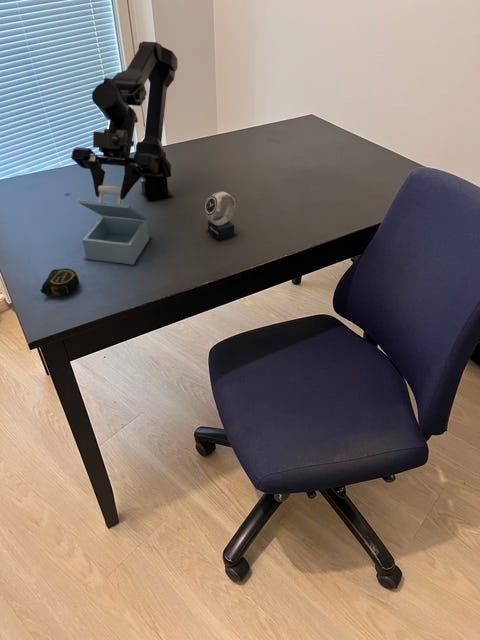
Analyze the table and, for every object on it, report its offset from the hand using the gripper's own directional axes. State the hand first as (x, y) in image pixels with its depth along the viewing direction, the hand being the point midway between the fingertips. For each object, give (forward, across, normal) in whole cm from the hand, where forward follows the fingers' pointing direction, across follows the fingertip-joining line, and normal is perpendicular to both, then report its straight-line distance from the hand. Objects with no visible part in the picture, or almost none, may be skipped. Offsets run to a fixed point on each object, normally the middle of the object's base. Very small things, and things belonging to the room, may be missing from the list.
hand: (109, 197), depth 108 cm
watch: (+1, +23, +19) cm, 30 cm away
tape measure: (+23, -6, -3) cm, 24 cm away
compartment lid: (+2, 0, +4) cm, 4 cm away
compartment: (+9, 0, +10) cm, 14 cm away
